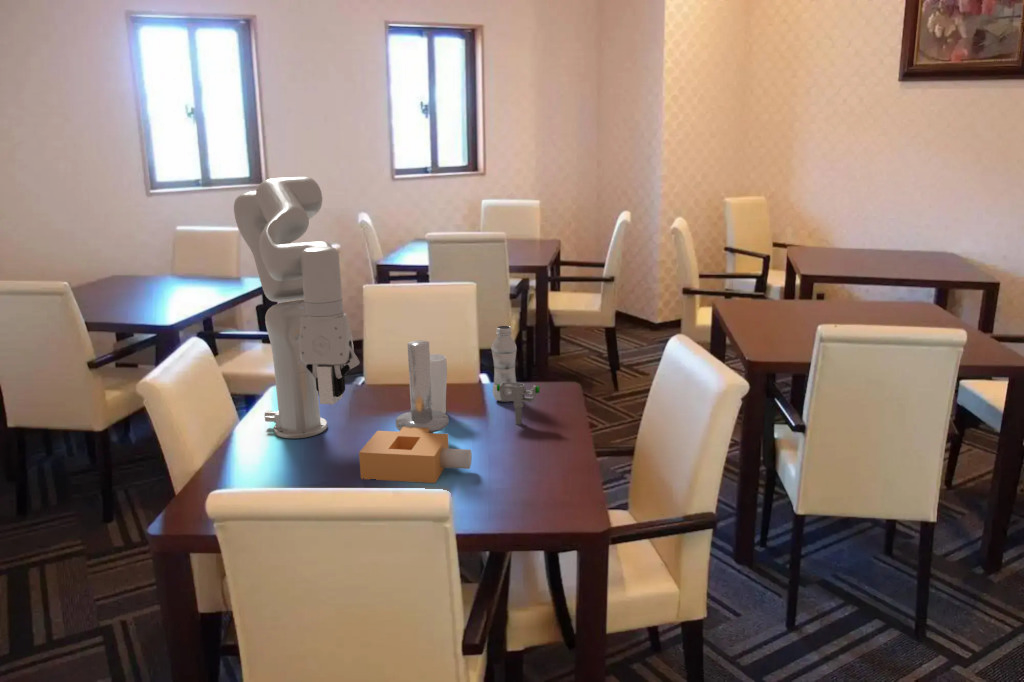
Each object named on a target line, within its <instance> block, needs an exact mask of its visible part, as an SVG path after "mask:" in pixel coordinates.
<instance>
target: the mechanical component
mask: <svg viewBox="0 0 1024 682" xmlns="http://www.w3.org/2000/svg"><path fill="white" fill-rule="evenodd" d="M507 389H509V390H511V393H509V392H507ZM540 390H541V388H540V386H539V385H535V384H533V385H532V388H531V389H527V388H526V387H525V384H524V383H522V382H516V383H506V382H502V383H501V384H500V385H497V391H500V397H501V399H502V400H504V401H509V402H513V404H512V406H513V407H514V408H515V424H516V425H517V426H518V425H519V426H520V425H522V423H523V407H524V406H525V405H524V403H532V402H534V401H535V399H536V397H537V395H538V394H539V393H540ZM525 395H526V396H525Z"/></svg>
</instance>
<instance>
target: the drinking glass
mask: <svg viewBox="0 0 1024 682" xmlns="http://www.w3.org/2000/svg"><path fill="white" fill-rule="evenodd" d="M430 372H431V394H432V410H434V411H439V412H443V413H445V414H446V411H447V409H446V405H447V403H446V402H447V381H448V363H447V356H446V355H444V354H441V353H440V354H439V353H430Z"/></svg>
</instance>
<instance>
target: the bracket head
mask: <svg viewBox="0 0 1024 682" xmlns="http://www.w3.org/2000/svg"><path fill="white" fill-rule="evenodd" d="M449 445H450V444H449V433H438V432H437V433H436V432H433V433H429V428H422V427H421V428H420V427H419V428H418V427H417V429H416V428H415V427H414V428H413V427H412V428H411V427H409V428H406V427H403V428H402V429H401V430H398V431H395V430H394V431H390V430H377V431H376V432H375V433H374V434H373V436H371V438H370V439H369V440H368V441H367V442H366V443H365V444H364V446H363V447H362V448H361V450H360V451H359V452H358V456H359V470H360V471H359V474H360V479H361V480H370V479H376V480H375V481H388V482H389V481H392V482H407V483H408V482H409V483H411V482H412V483H428V484H436V483H437V481H438V479H439V478H440V476H441V475H442V473H443V471H444V469H445V468H448V469H463V470H465V469H467V470H469V469H471V467H472V456H473V455H472V450H471V449H468V448H466V449H462V448H449ZM363 478H364V479H363Z"/></svg>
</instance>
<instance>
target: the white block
mask: <svg viewBox="0 0 1024 682" xmlns="http://www.w3.org/2000/svg"><path fill="white" fill-rule="evenodd" d="M317 377H318V388H319V395H318V399H319V405H335V404H336V403H337V402H338V401H340V400H341V399H342V398H343V397H344V393H343V394H342V395H341V396H339V397H336V396H335V388H334V379H335V378H336V374H335V368H334V365H318V366H317Z"/></svg>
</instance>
